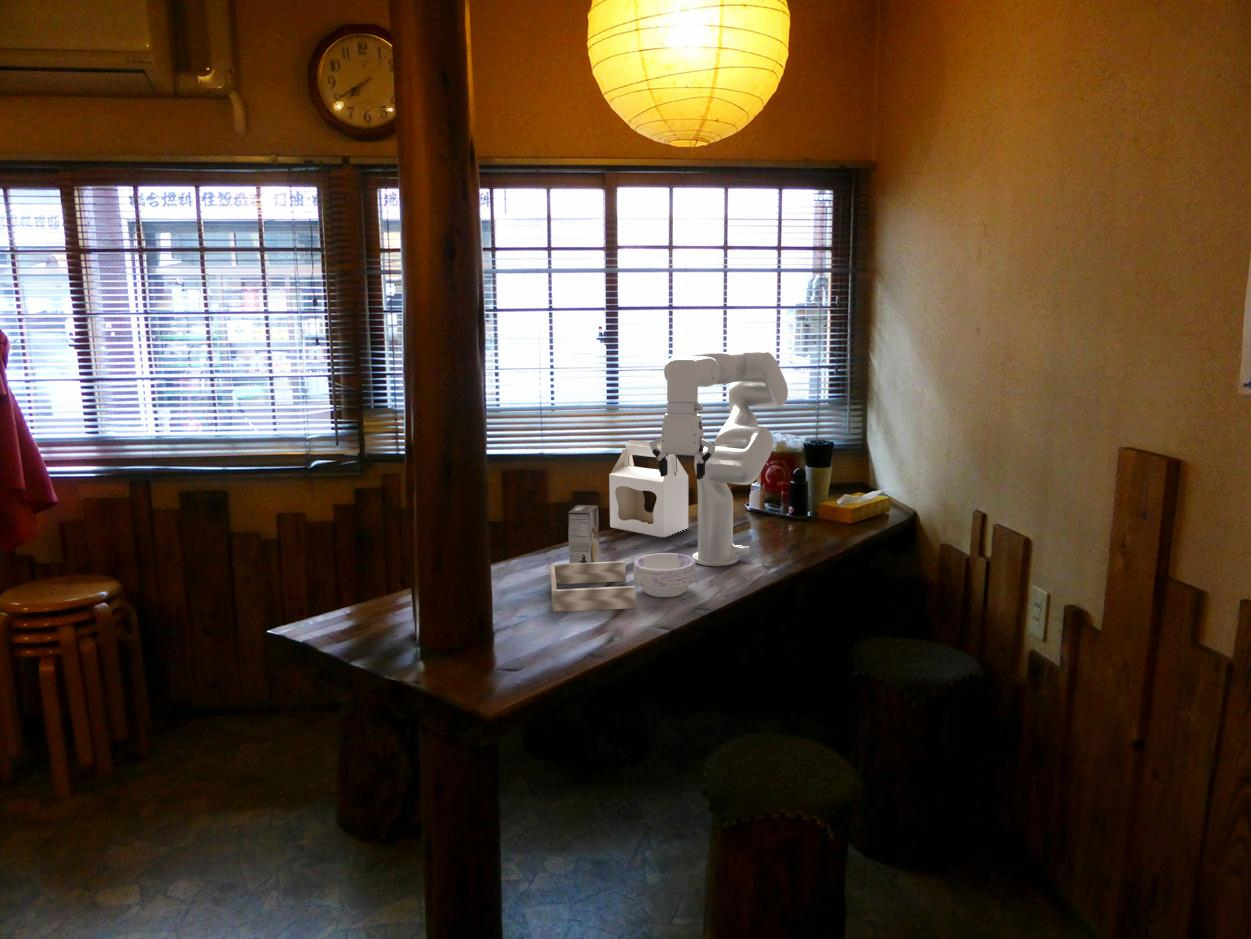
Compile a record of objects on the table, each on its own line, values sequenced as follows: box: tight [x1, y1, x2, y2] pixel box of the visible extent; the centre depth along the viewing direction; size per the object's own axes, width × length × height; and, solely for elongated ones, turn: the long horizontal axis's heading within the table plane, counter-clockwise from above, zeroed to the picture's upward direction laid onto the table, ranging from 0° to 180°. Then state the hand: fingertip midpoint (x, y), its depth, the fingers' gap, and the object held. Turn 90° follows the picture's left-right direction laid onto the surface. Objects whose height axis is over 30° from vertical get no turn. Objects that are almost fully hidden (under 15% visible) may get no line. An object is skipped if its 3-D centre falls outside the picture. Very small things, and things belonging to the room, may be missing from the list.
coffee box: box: [567, 504, 601, 564], centre depth 217 cm, size 9×6×16 cm
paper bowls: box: [632, 552, 697, 598], centre depth 197 cm, size 15×15×8 cm
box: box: [549, 560, 637, 613], centre depth 195 cm, size 19×21×5 cm
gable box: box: [608, 439, 689, 538], centre depth 256 cm, size 22×13×28 cm, turn 51°
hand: (681, 477), depth 202 cm, fingers open, 9 cm apart
